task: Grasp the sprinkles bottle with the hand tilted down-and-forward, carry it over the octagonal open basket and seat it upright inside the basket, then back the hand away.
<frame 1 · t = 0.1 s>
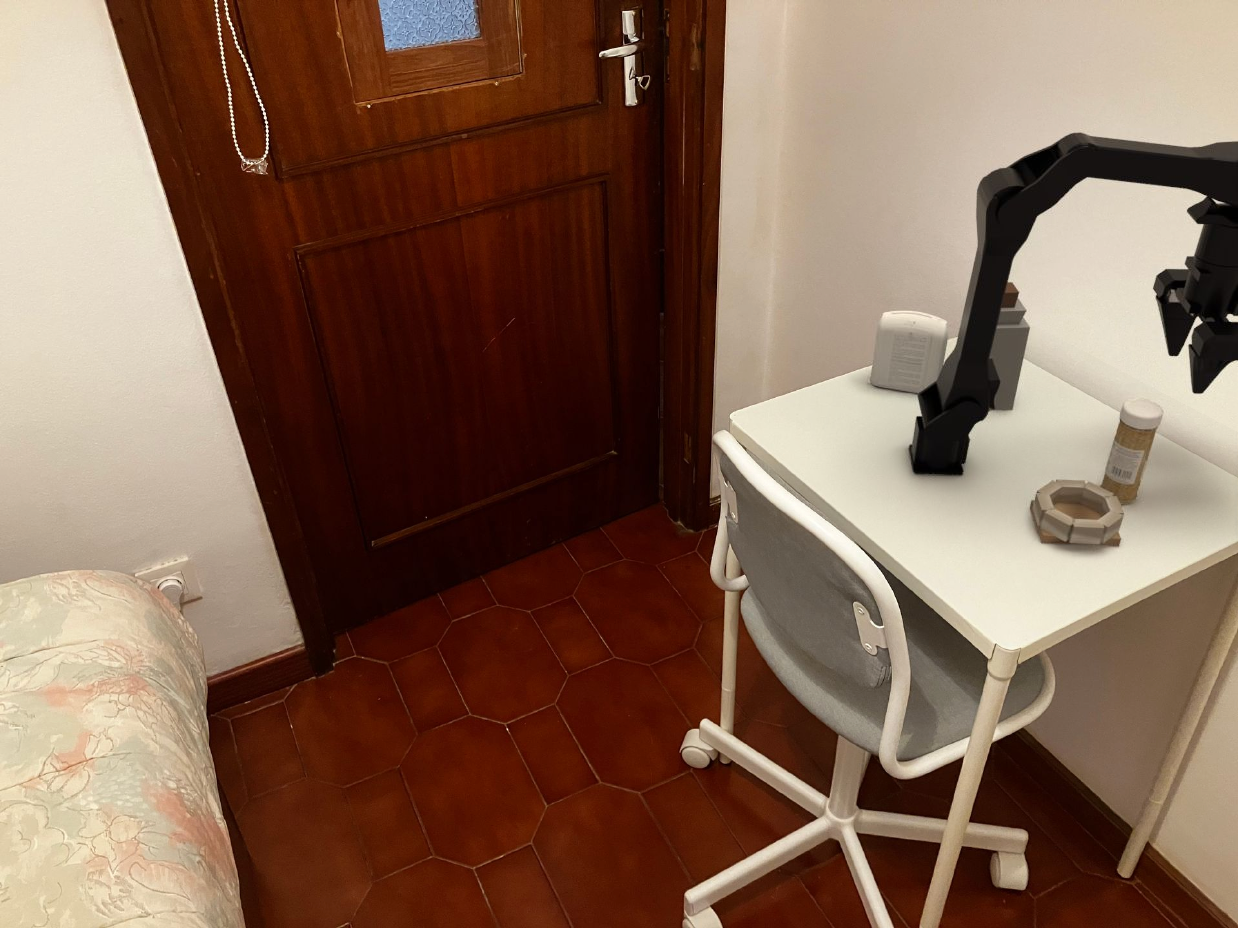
hand: (1184, 373, 126), 15 cm above the table, tool pointing down, fingers open, 9 cm apart
octagonal open basket: (1073, 526, 126), on the table
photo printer: (904, 387, 155), on the table
perfume bottle: (982, 399, 151), on the table
sprinkles bottle: (1116, 496, 131), on the table
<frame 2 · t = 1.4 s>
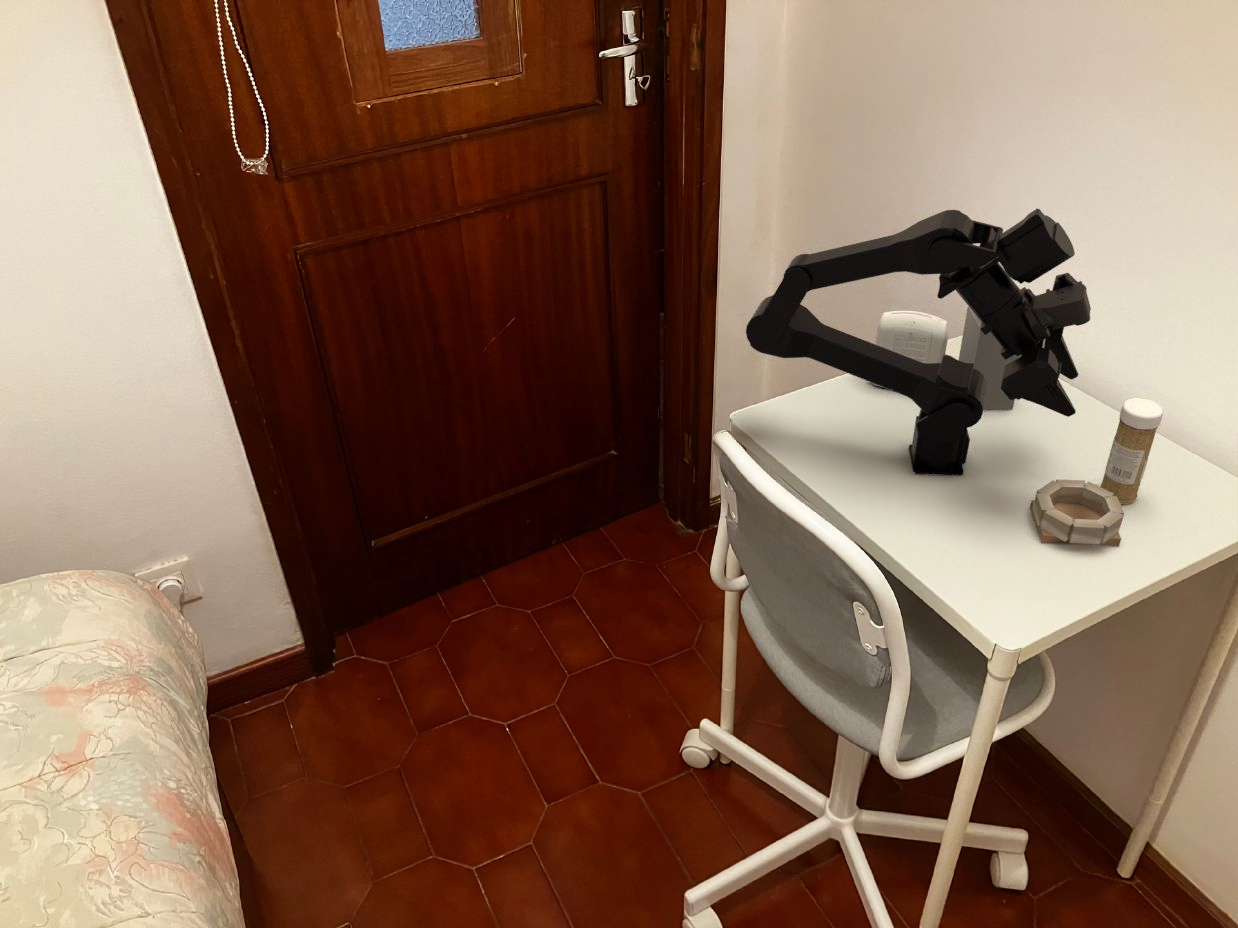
hand: (1073, 395, 126), 13 cm above the table, tool tilted 45°, fingers open, 9 cm apart
nothing on the table moved.
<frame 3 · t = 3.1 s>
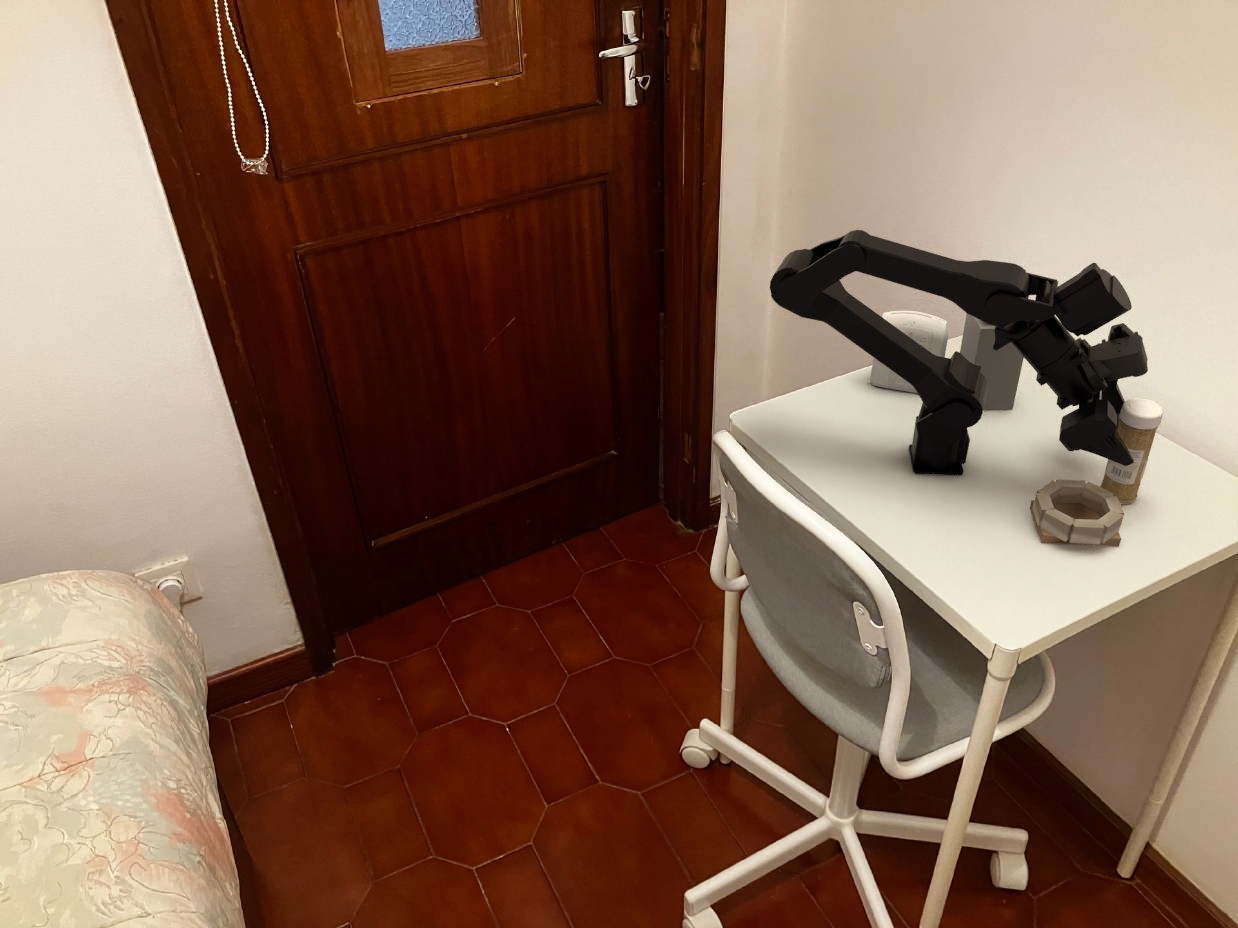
hand: (1130, 443, 126), 8 cm above the table, tool tilted 45°, fingers open, 9 cm apart
nothing on the table moved.
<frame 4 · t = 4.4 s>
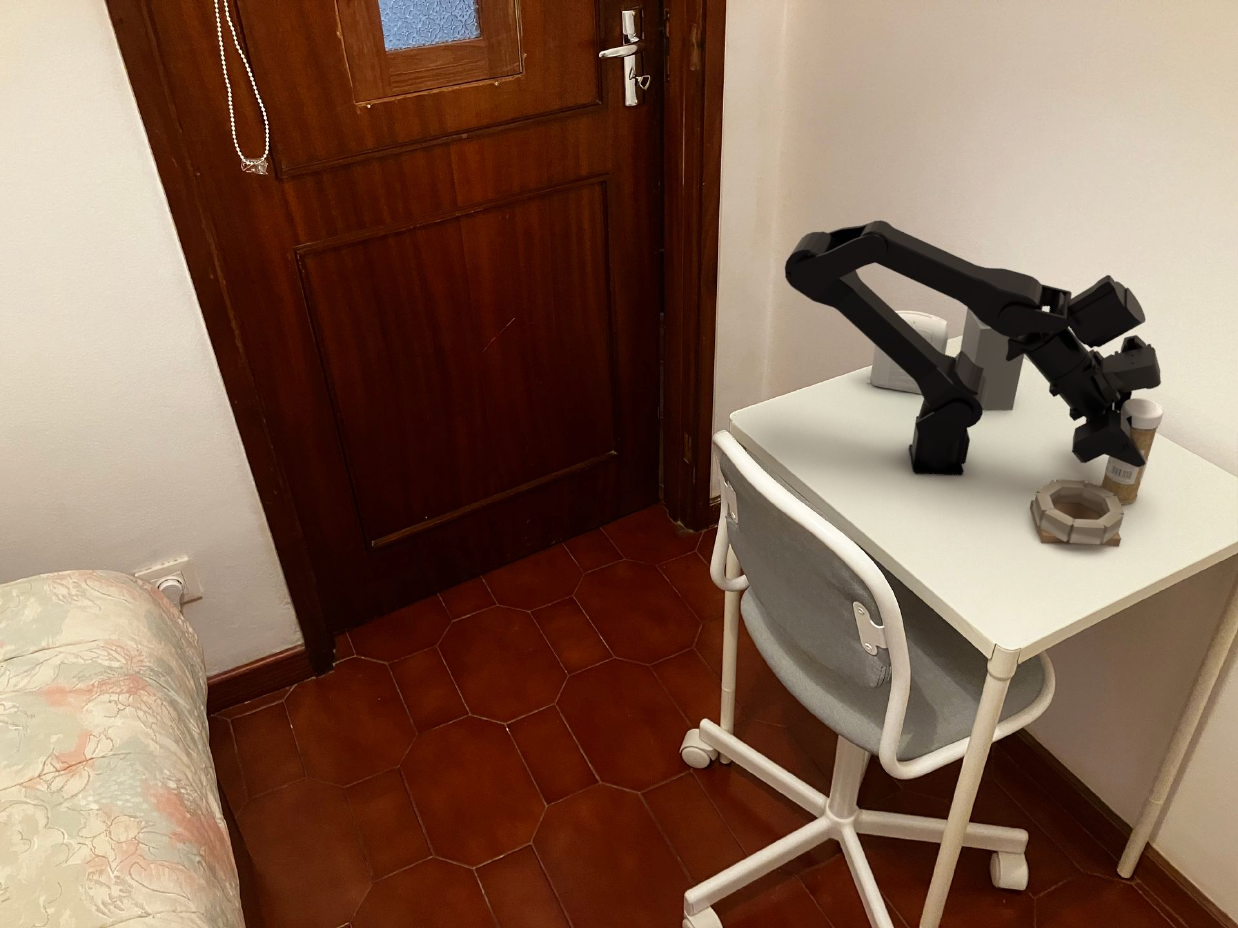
hand: (1141, 454, 127), 7 cm above the table, tool tilted 45°, fingers closed on sprinkles bottle, 4 cm apart
sprinkles bottle: (1116, 496, 131), on the table, touching gripper
everything else where it was.
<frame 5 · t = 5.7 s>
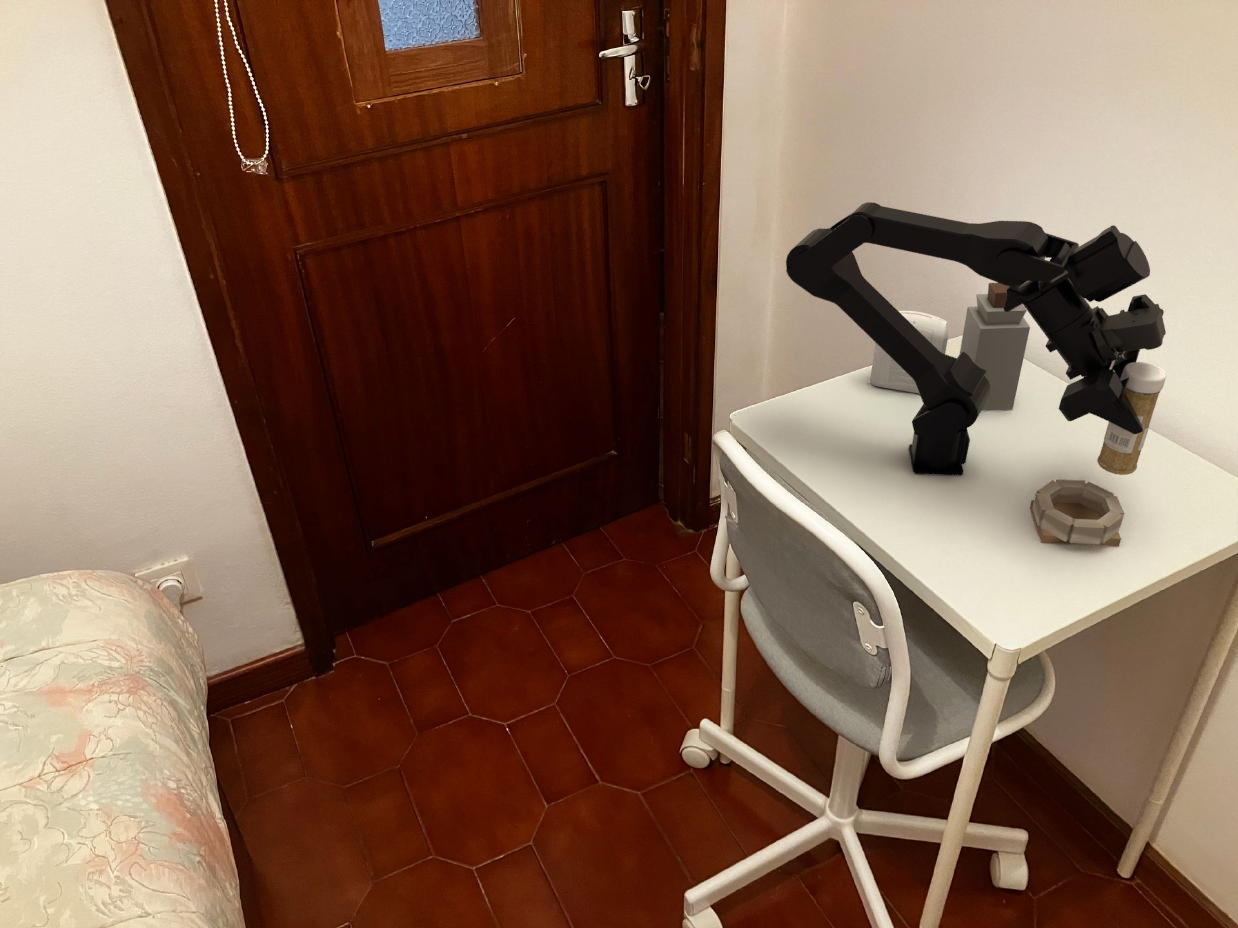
hand: (1142, 422, 121), 13 cm above the table, tool tilted 45°, fingers closed on sprinkles bottle, 4 cm apart
sprinkles bottle: (1115, 467, 125), point 6 cm above the table, touching gripper
everything else where it was.
when the fingers open (9 cm above the table, at t = 7.4 s): sprinkles bottle drops 1 cm, resting on octagonal open basket.
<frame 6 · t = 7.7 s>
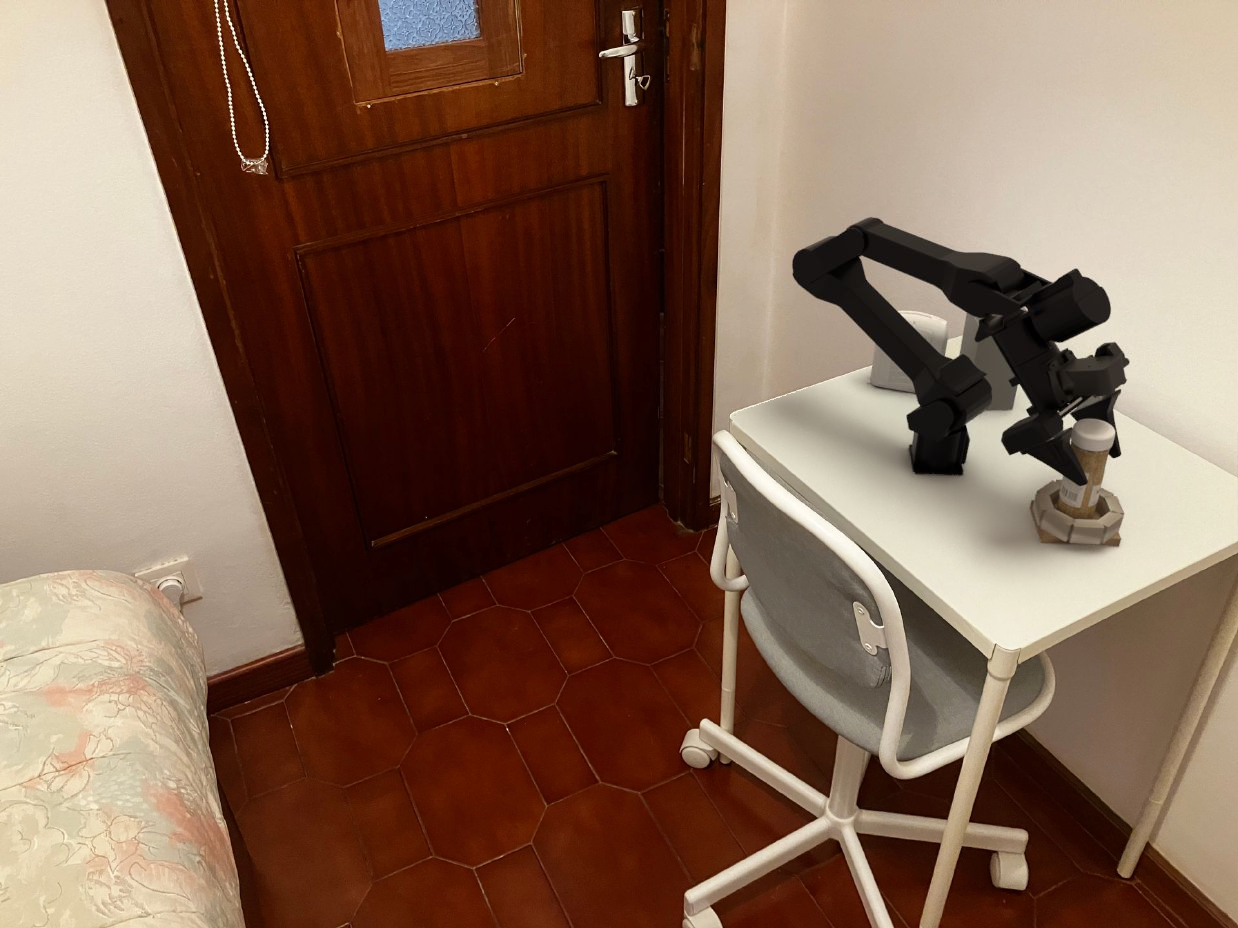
hand: (1101, 470, 120), 9 cm above the table, tool tilted 45°, fingers open, 8 cm apart
sprinkles bottle: (1072, 519, 125), point 1 cm above the table, touching octagonal open basket
everything else where it was.
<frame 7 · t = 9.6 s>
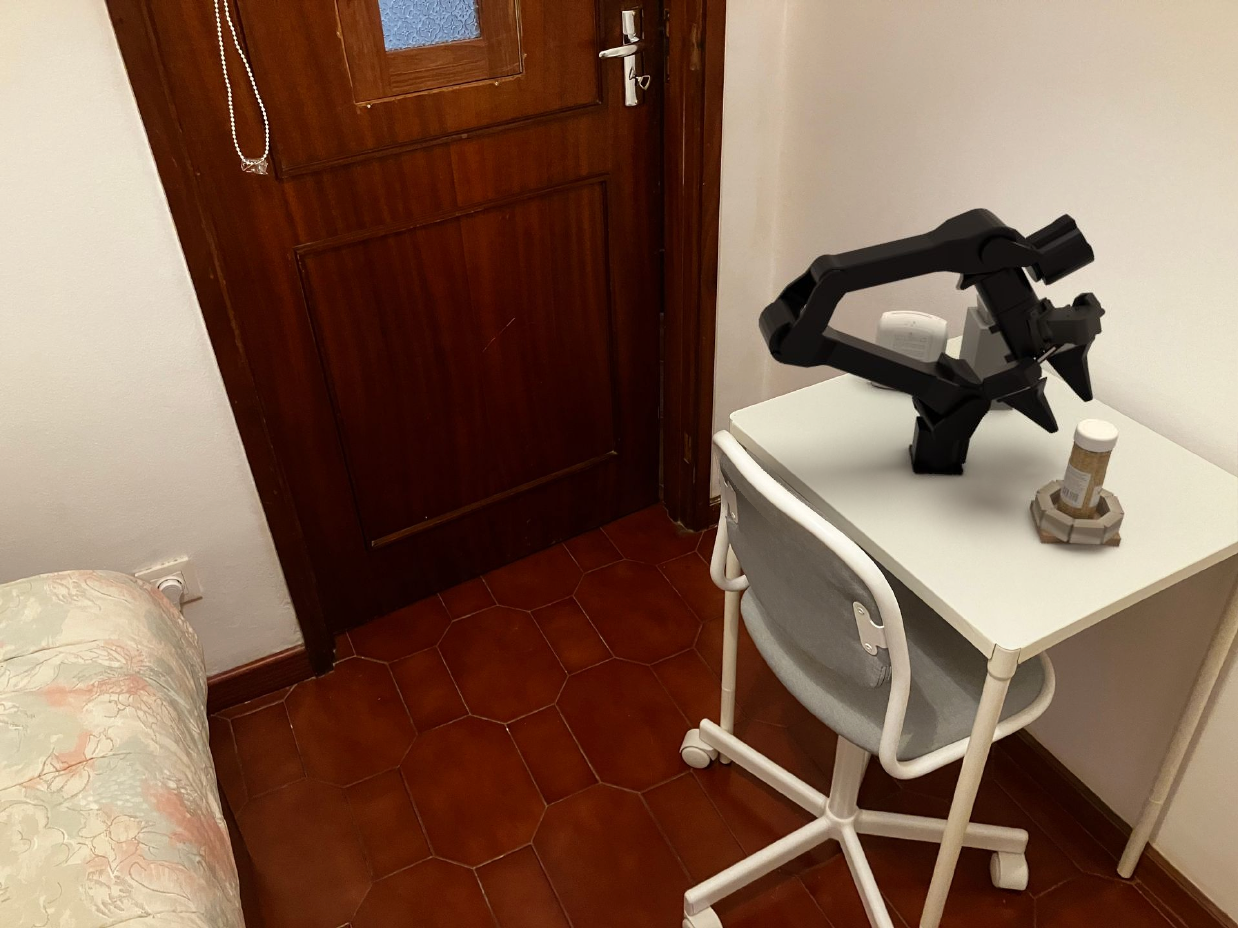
hand: (1072, 416, 125), 12 cm above the table, tool tilted 40°, fingers open, 9 cm apart
nothing on the table moved.
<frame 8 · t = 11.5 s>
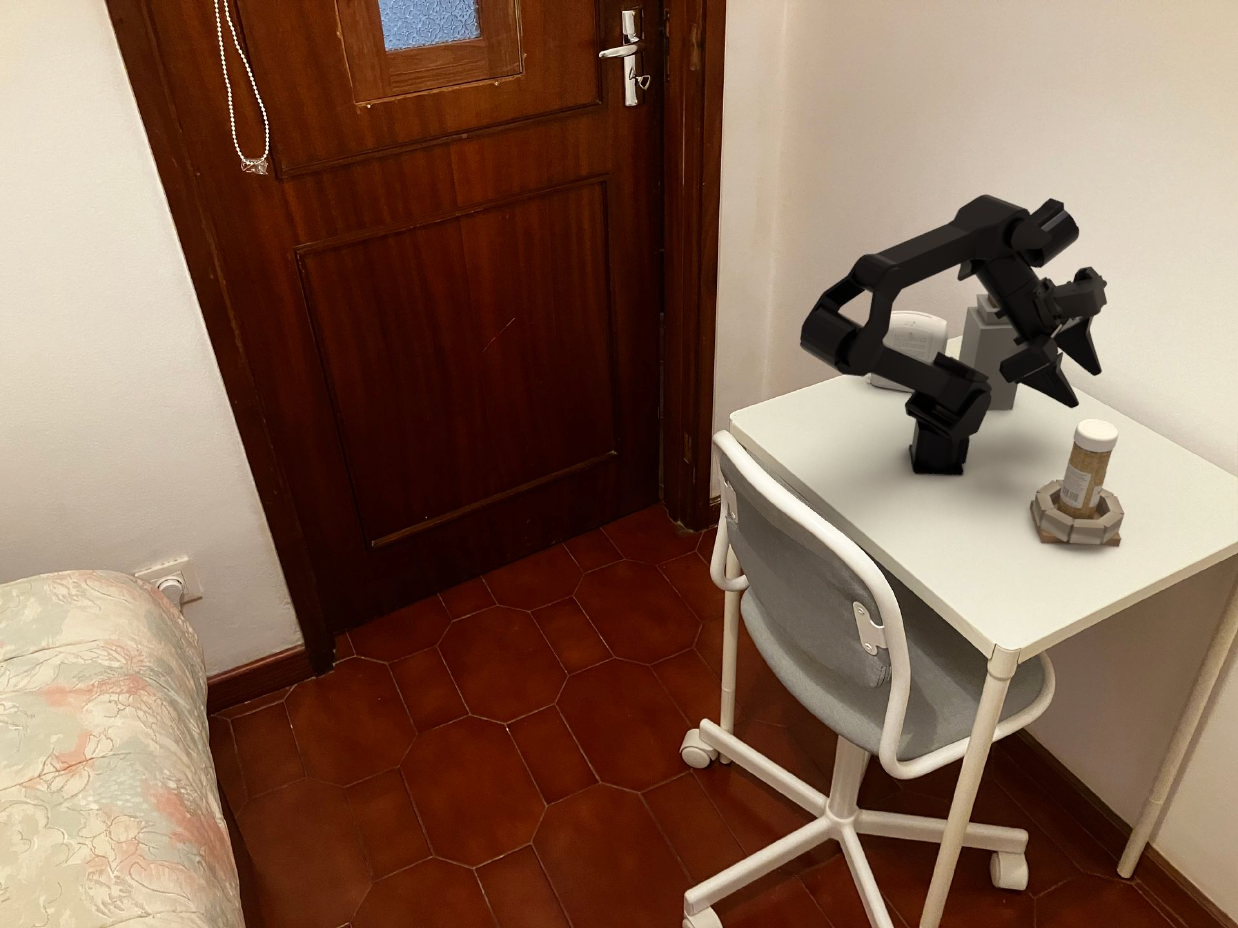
hand: (1087, 390, 126), 14 cm above the table, tool tilted 45°, fingers open, 9 cm apart
nothing on the table moved.
at the end: sprinkles bottle 0.3 cm off-centre on the octagonal open basket, point 1.0 cm above the octagonal open basket's base; sprinkles bottle tilted 0°; the gripper is holding nothing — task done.
